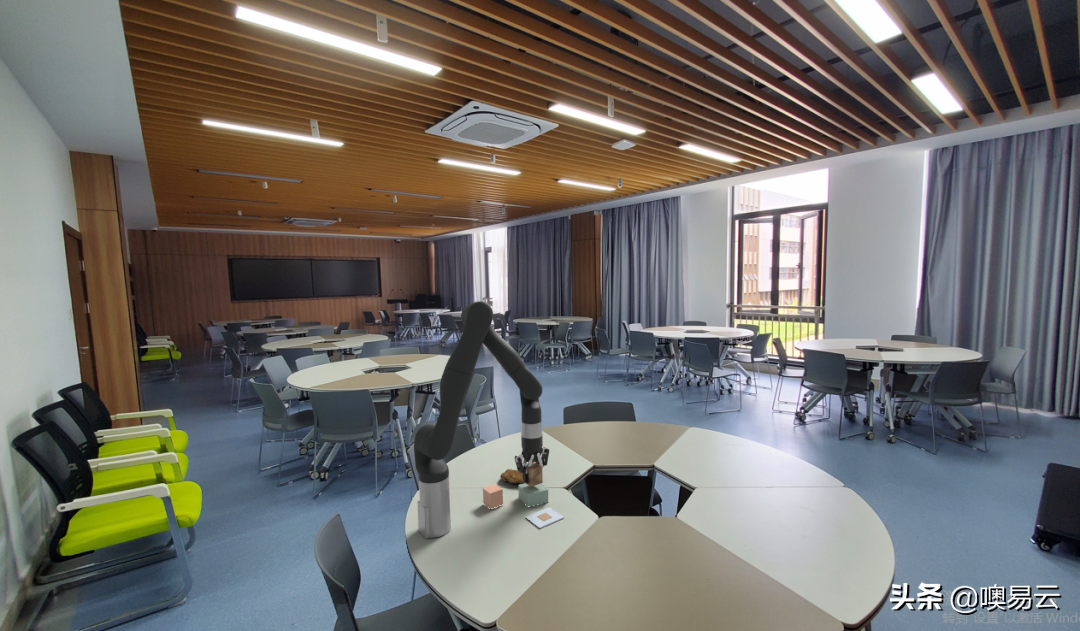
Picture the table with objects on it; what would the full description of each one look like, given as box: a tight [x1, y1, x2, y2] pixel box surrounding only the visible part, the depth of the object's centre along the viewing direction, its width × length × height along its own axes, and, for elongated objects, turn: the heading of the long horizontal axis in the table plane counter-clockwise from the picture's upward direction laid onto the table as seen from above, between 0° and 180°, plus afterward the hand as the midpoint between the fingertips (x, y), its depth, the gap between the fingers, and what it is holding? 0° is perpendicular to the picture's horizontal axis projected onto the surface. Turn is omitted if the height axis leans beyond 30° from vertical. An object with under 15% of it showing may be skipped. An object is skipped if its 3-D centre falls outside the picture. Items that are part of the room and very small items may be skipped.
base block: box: [517, 483, 549, 508], centre depth 155 cm, size 8×8×5 cm
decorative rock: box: [499, 468, 525, 485], centre depth 170 cm, size 11×4×15 cm
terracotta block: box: [482, 483, 504, 510], centre depth 152 cm, size 5×5×6 cm
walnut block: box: [523, 462, 544, 487], centre depth 154 cm, size 5×5×6 cm
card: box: [524, 506, 565, 529], centre depth 143 cm, size 10×8×1 cm
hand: (532, 480), depth 155 cm, fingers closed on walnut block, 5 cm apart
